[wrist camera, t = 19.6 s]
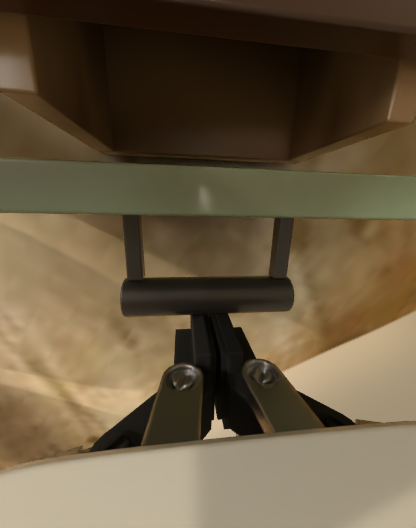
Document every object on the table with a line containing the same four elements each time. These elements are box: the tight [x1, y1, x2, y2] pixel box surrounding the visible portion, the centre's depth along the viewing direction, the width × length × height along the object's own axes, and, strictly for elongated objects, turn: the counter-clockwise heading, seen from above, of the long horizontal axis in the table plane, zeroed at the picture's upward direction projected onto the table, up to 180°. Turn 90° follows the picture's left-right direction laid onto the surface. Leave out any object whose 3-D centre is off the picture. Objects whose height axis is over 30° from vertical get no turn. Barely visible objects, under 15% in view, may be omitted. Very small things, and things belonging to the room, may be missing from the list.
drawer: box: [0, 12, 416, 317], centre depth 8 cm, size 17×11×7 cm
